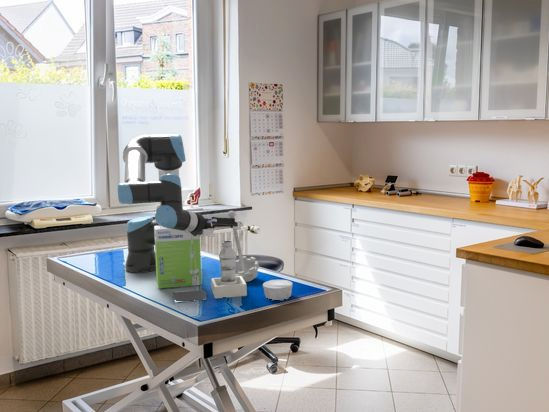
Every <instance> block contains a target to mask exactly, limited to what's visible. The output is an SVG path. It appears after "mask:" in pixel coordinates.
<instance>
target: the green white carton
mask: <svg viewBox="0 0 549 412" xmlns="http://www.w3.org/2000/svg"><path fill="white" fill-rule="evenodd" d="M154 236H155V245H154V250H155V257H156V270H155V276H156V278H155V279H156V284H157V288H158V289H169V288H183V287H185V288H186V287H193V286H194V287H195V286H201V285H202V282H203V280H202V279H203V278H202V261H201V260H202V257H201V255H202V254H201V235H198V234H197V236H193V235H192V234H191V233H190V232H187V233H186V232H185V231H181V230H176V229H171V228H170V229H169V228H166V227H163V226H154Z"/></svg>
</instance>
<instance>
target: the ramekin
mask: <svg viewBox="0 0 549 412" xmlns="http://www.w3.org/2000/svg"><path fill="white" fill-rule="evenodd" d="M293 286H294V285H293V282H292V281H290V280H287V279H270V280H267V281H265V282H263V284H262V288H263V292H264V296H265V298H266V299H267V298H268V299H267V300H269V299H272V300H271V301H274V300H280V301H285V300H284V299H286V300H288V299H290V298H291V296H292V292H293V290H292V289H293ZM289 297H290V298H289Z"/></svg>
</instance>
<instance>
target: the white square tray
mask: <svg viewBox="0 0 549 412" xmlns="http://www.w3.org/2000/svg"><path fill="white" fill-rule="evenodd" d="M210 279H211V280H210V281H211V283H210V284H211V291H212V294H213V297H214V299H224V298H223V297H226V298H235V297H246V296H248V295H247V294H248V293H247V290H248V289H247V287H248V286H247V282H245V281H244V279H243V278H242V276H236V281H237V284H233V285H221V286H220V281H221V277H213V278H210Z"/></svg>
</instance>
